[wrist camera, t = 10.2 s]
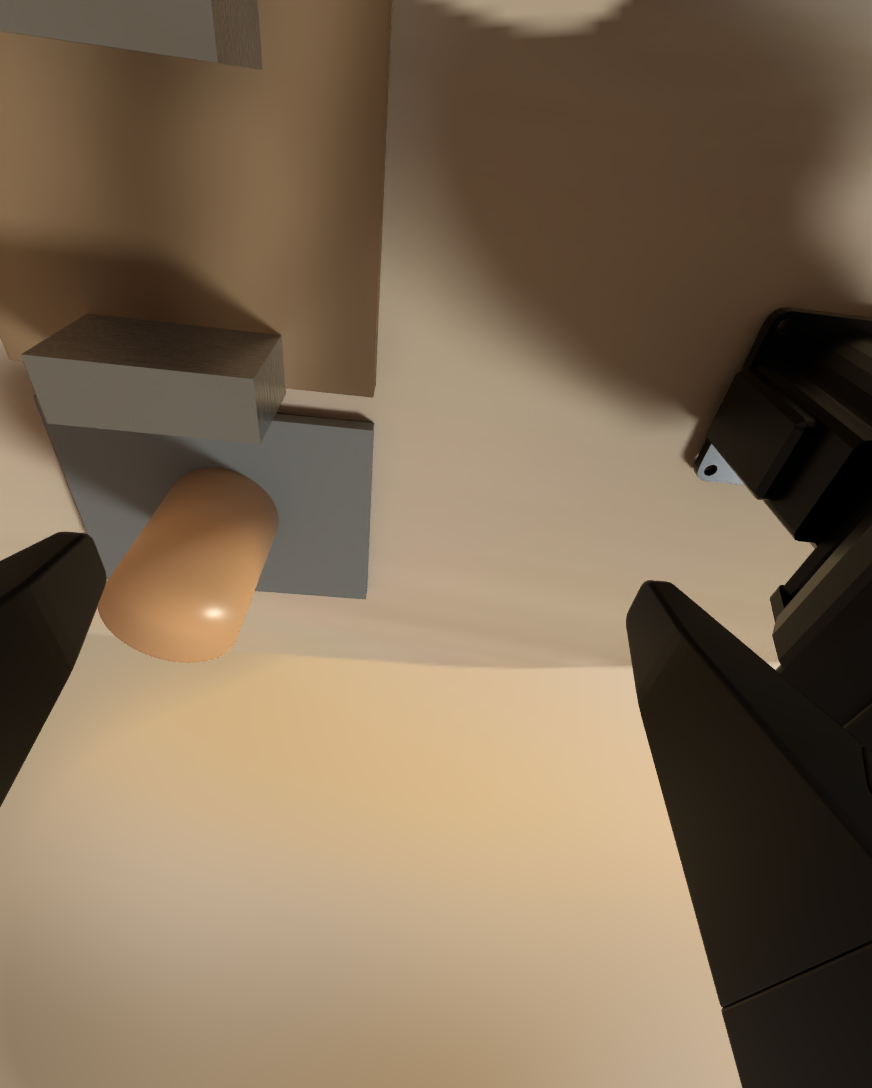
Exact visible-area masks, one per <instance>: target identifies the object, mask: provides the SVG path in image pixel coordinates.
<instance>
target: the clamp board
mask: <svg viewBox="0 0 872 1088" xmlns="http://www.w3.org/2000/svg"><path fill="white" fill-rule="evenodd" d="M391 6H392V0H258V13H259V26H260V40H261V54H262V68H263V70H257V69H251V68H244V67H237V66H230V65H224V64H217V63H210V62H203V61H197V60H190V59H183V58H176V57H170V56H163V55H156V54H149V53H143V52H136V51H129V50H122V49H116V48H109V47H102V46H95V45H89V44H82V43H75V42H68V41H62V40H55V39H48V38H41V37H35V36H28V35H21V34H14V33H8V32H1V31H0V337H1V340H2V342H3V345H4V347H5V349H6V352H7V354H8V357H9V359H12V360H21V361H23V360H22V357H21V354H22V353H24V352H25V351H27V350H29V349H30V348H32V347H33V346H35V345H37V344H38V343H40V342H42V341H43V340H45V339H46V338H48V337H50V336H51V335H53V334H55V333H56V332H58V331H59V330H61V329H63V328H64V327H66V326H68V325H69V324H71V323H72V322H74V321H76V320H77V319H79V318H81V317H82V316H84V315H85V314H87V313H89V314H98V315H107V316H116V317H124V318H133V319H142V320H151V321H160V322H169V323H178V324H187V325H196V326H205V327H214V328H223V329H231V330H240V331H249V332H258V333H267V334H276V335H282V346H283V360H284V374H285V388H288V389H297V390H307V391H316V392H326V393H335V394H345V395H355V396H364V397H373V396H374V391H375V386H376V364H377V340H378V317H379V293H380V269H381V245H382V221H383V197H384V173H385V149H386V126H387V102H388V78H389V54H390V30H391Z"/></svg>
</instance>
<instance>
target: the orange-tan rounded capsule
mask: <svg viewBox="0 0 872 1088" xmlns="http://www.w3.org/2000/svg"><path fill="white" fill-rule="evenodd" d="M278 524H279V518H278V512H277V509H276V506H275V504H274V502H273V501H272V499H271V498H270V496H269V495H268V494H267V492H266V491H265V490H264V489H263V488H262V487H261V486H259V485H258V484H257V483H255V482H254V481H253V480H251V479H249V478H248V477H246V476H244V475H242V474H239V473H237V472H234V471H231V470H227V469H221V468H201V469H196V470H193V471H190V472H188V473H186V474H184V475H183V476H181V477H180V478H179V479H178V480H177V481H176V482H175V484H174V485H173V486H172V488H171V489H170V491H169V492H168V494H167V495H166V497H165V498H164V499H163V501H162V502H161V504H160V505H159V507H158V508H157V510H156V511H155V512H154V514H153V515H152V517H151V518H150V520H149V521H148V523H147V524H146V525H145V527H144V528H143V530H142V531H141V533H140V534H139V536H138V537H137V538H136V540H135V541H134V543H133V544H132V546H131V547H130V549H129V550H128V551H127V553H126V554H125V556H124V557H123V559H122V560H121V562H120V563H119V564H118V566H117V567H116V569H115V570H114V572H113V573H112V575H111V576H110V577H109V579H108V580H107V582H106V585H105V588H104V591H103V594H102V596H101V599H100V601H99V604H98V611H99V614H100V617H101V619H102V621H103V622H104V624H105V625H106V627H107V628H108V629H109V630H110V631H111V632H112V633H113V634H114V635H115V636H116V637H117V638H118V639H120V640H121V641H122V642H124V643H125V644H127V645H129V646H130V647H132V648H134V649H136V650H138V651H139V652H142V653H144V654H147V655H149V656H152V657H155V658H159V659H163V660H168V661H173V662H182V663H195V662H204V661H208V660H212V659H215V658H218V657H220V656H222V655H223V654H225V653H226V652H228V651H229V650H230V649H231V648H232V647H233V645H234V644H235V642H236V640H237V637H238V634H239V632H240V629H241V626H242V623H243V621H244V618H245V615H246V613H247V610H248V607H249V605H250V602H251V599H252V597H253V594H254V591H255V588H256V586H257V583H258V580H259V578H260V575H261V572H262V570H263V567H264V564H265V562H266V559H267V556H268V554H269V551H270V548H271V545H272V543H273V540H274V537H275V535H276V532H277V529H278Z"/></svg>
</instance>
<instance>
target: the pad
mask: <svg viewBox="0 0 872 1088" xmlns="http://www.w3.org/2000/svg"><path fill="white" fill-rule="evenodd" d="M34 400H35V402H36V405H37V407H38V410H39V412H40V415H41V417H42V420H43V422H44V425H45V427H46V430H47V432H48V435H49V438H50V440H51V443H52V445H53V448H54V450H55V453H56V455H57V458H58V460H59V463H60V465H61V468H62V470H63V473H64V475H65V478H66V481H67V483H68V486H69V488H70V491H71V493H72V496H73V498H74V501H75V503H76V506H77V508H78V511H79V513H80V516H81V518H82V521H83V524H84V526H85V529H86V531H87V534H88V535H90V536H91V537H92V538H93V540H94V542H95V545H96V547H97V550H98V552H99V555H100V557H101V560H102V563H103V565H104V568H105V570H106V576H107V578H106V579H109V577H110V576H111V575H112V573H113V572H114V570H115V569H116V567H117V566H118V564H119V563H120V562H121V560H122V559H123V557H124V556H125V554H126V553H127V551H128V550H129V549H130V547H131V546H132V544H133V543H134V541H135V540H136V538H137V537H138V536H139V534H140V533H141V531H142V530H143V528H144V527H145V525H146V524H147V523H148V521H149V520H150V518H151V517H152V515H153V514H154V512H155V511H156V510H157V508H158V507H159V505H160V504H161V502H162V501H163V499H164V498H165V497H166V495H167V494H168V492H169V491H170V489H171V488H172V486H173V485H174V484H175V482H176V481H177V480H178V479H179V478H180V477H181V476H183V475H184V474H186V473H188V472H190V471H193V470H196V469H201V468H221V469H227V470H231V471H234V472H237V473H239V474H242V475H244V476H246V477H248V478H249V479H251V480H253V481H254V482H255V483H257V484H258V485H259V486H261V487H262V488H263V489H264V490H265V491H266V492H267V494H268V495H269V496H270V498H271V499H272V501H273V502H274V504H275V506H276V509H277V512H278V518H279V524H278V529H277V532H276V535H275V537H274V540H273V543H272V545H271V548H270V551H269V554H268V556H267V559H266V562H265V564H264V567H263V570H262V572H261V575H260V578H259V580H258V583H257V586H256V588H255V591H264V592H277V593H290V594H303V595H316V596H329V597H342V598H355V599H366V594H367V579H368V555H369V532H370V508H371V484H372V460H373V436H374V423H367V422H358V421H348V420H338V419H328V418H318V417H308V416H298V415H289V414H279V413H276V414H275V416H274V418H273V420H272V422H271V424H270V426H269V428H268V430H267V432H266V434H265V436H264V438H263V440H262V442H261V444H254V443H243V442H233V441H223V440H212V439H202V438H192V437H181V436H171V435H161V434H151V433H140V432H130V431H120V430H109V429H99V428H89V427H78V426H68V425H58V424H47V421H46V418H45V416H44V413H43V411H42V408H41V406H40V403H39V400H38V398H37V395H35V396H34Z"/></svg>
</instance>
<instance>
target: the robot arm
mask: <svg viewBox="0 0 872 1088" xmlns="http://www.w3.org/2000/svg"><path fill="white" fill-rule="evenodd" d="M786 319H787V324H786V325H785V327H784V328H783V329H781V330H779V331H777V327H778V325H779V324H780V323H781V322H782V321H784V320H786ZM707 437H708V438H707V440H706V442H705V444H704V446H703V448H702V450H701V452H700V454H699V456H698V458H697V460H696V462H695V464H694V472H695V473H696V475H697V476H698V477H699V478H700V479H701V480H703V481H710V482H720V483H730V484H740V485H745V486H746V487H747V488H748V489H749V491H750V492H751V493H752V494H753V496H754V497H755V498H756V499H758V500H763V501H764V502H765V504H766V505H767V506H768V507H769V509H770V510H771V511H772V512H773V513H774V515H775V516H776V517H777V518H778V520H779V521H780V522H781V523H782V524H783V526H784V527H785V528H786V529H787V531H788V532H789V533H790V534H791V535H792V537H793V538H794V539H795V540H797V541H803V542H810V544H811V545H812V546H813V547H814V548H815V550H814V551H813V552H812V553H811V554H810V556H809V557H808V558H807V559H806V560H805V561H804V563H803V564H802V565H801V566H800V567H799V569H798V570H797V571H796V572H795V573H794V575H793V576H792V577H791V578H790V579H789V581H788V582H787V583H786V584H785V585H780V586H779V587H778V588H777V590H776V591H775V592H774V593H773V594H772V596H771V597H770V601H771V606H772V611H773V615H774V620H775V626H774V630H773V634H772V636H773V640H774V644H775V648H776V652H777V656H778V659H779V662H780V664H781V665H780V666H779V667H778V668H777V669H776V670H775V669H773V668H772V667H771V666H770V665H769V664H767V663H766V662H765V661H764V660H763V659H761V658H760V657H759V656H758V655H757V654H756V653H754V652H753V651H752V650H751V649H750V648H748V647H747V646H746V645H745V644H744V643H742V642H741V641H740V640H739V639H738V638H736V637H735V636H734V635H733V634H732V633H731V632H729V631H728V630H727V629H726V628H725V627H723V626H722V625H721V624H720V623H719V622H717V621H716V620H715V619H714V618H713V617H711V616H710V615H709V614H708V613H707V612H706V611H704V610H703V609H702V608H701V607H700V606H698V605H697V604H696V603H695V602H694V601H692V600H691V599H690V598H689V597H688V596H687V595H685V594H684V593H683V592H682V591H681V590H679V589H678V588H677V587H676V586H675V585H673V584H672V583H670V582H666V581H654V580H648V581H645V582H644V583H643V584H642V586H641V587H640V589H639V591H638V593H637V595H636V597H635V599H634V601H633V603H632V605H631V607H630V609H629V611H628V613H627V618H626V628H627V634H628V641H629V647H630V654H631V660H632V667H633V674H634V680H635V687H636V693H637V698H638V704H639V708H640V712H641V717H642V720H643V724H644V728H645V731H646V735H647V739H648V742H649V746H650V750H651V753H652V757H653V761H654V764H655V768H656V771H657V775H658V779H659V782H660V786H661V790H662V794H663V797H664V801H665V805H666V808H667V812H668V816H669V819H670V823H671V827H672V830H673V833H674V838H675V841H676V845H677V848H678V852H679V856H680V860H681V863H682V867H683V871H684V874H685V878H686V882H687V885H688V889H689V893H690V896H691V900H692V903H693V907H694V911H695V914H696V918H697V922H698V925H699V929H700V933H701V936H702V940H703V944H704V947H705V951H706V954H707V958H708V962H709V965H710V969H711V973H712V977H713V980H714V984H715V987H716V991H717V995H718V999H719V1002H720V1005H721V1007H723V1008H722V1015H723V1018H724V1022H725V1025H726V1029H727V1033H728V1037H729V1040H730V1044H731V1048H732V1051H733V1055H734V1059H735V1062H736V1066H737V1070H738V1073H739V1077H740V1080H741V1084H742V1088H872V318H868V317H860V316H852V315H844V314H836V313H828V312H819V311H811V310H803V309H795V308H780V309H778V310H775V311H774V312H773V313H771V314H770V315H769V316H768V318H767V319H766V321H765V322H764V324H763V326H762V328H761V330H760V332H759V334H758V336H757V338H756V340H755V342H754V345H753V347H752V349H751V351H750V353H749V355H748V357H747V359H746V361H745V363H744V365H743V367H742V369H741V370H740V371H739V372H738V373H737V374H736V376H735V378H734V380H733V382H732V384H731V386H730V388H729V390H728V392H727V394H726V396H725V398H724V400H723V402H722V404H721V406H720V408H719V410H718V412H717V414H716V416H715V418H714V420H713V422H712V425H711V427H710V429H709V431H708V433H707ZM709 465H713V466H712V467H711V468H710V469H709V470H705V468H706V467H708V466H709ZM106 578H107V576H106V570H105V568H104V565H103V563H102V560H101V557H100V555H99V552H98V550H97V547H96V545H95V542H94V540H93V538H92V537H91V536H90V535H88V534H85V533H75V532H58V533H56V534H54V535H52V536H50V537H48V538H46V539H44V540H42V541H40V542H38V543H36V544H34V545H32V546H30V547H28V548H25V549H23V550H21V551H19V552H17V553H15V554H13V555H11V556H9V557H7V558H5V559H3V560H1V561H0V807H1V805H2V803H3V801H4V799H5V797H6V795H7V793H8V791H9V790H10V788H11V786H12V784H13V782H14V780H15V778H16V776H17V775H18V773H19V771H20V769H21V767H22V765H23V763H24V761H25V759H26V758H27V756H28V754H29V752H30V750H31V748H32V746H33V744H34V742H35V740H36V739H37V737H38V735H39V733H40V731H41V729H42V727H43V725H44V723H45V722H46V720H47V718H48V716H49V714H50V712H51V710H52V708H53V706H54V705H55V702H56V701H57V699H58V697H59V695H60V693H61V691H62V689H63V687H64V685H65V684H66V682H67V680H68V678H69V676H70V674H71V671H72V670H73V667H74V665H75V663H76V660H77V658H78V655H79V653H80V650H81V648H82V645H83V643H84V640H85V638H86V635H87V632H88V630H89V627H90V625H91V622H92V619H93V617H94V614H95V612H96V609H97V606H98V604H99V601H100V599H101V596H102V594H103V591H104V588H105V585H106Z"/></svg>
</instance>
